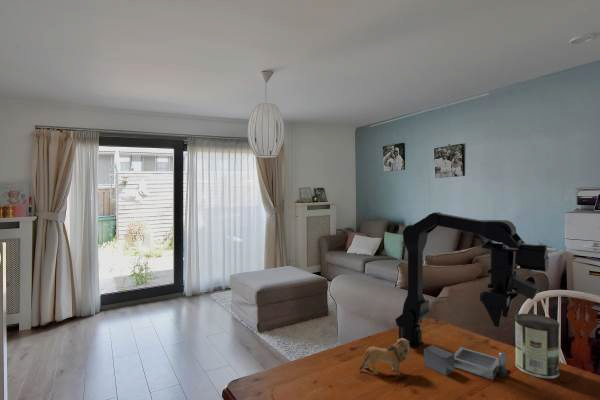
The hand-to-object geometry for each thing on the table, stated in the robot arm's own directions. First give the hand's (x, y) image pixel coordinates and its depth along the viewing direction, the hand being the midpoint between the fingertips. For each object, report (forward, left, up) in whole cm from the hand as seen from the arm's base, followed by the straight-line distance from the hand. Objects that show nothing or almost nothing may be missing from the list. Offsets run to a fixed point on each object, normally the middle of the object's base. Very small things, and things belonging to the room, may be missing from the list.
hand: (501, 321), depth 93 cm
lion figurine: (-24, -21, -15) cm, 35 cm away
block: (-14, -9, -14) cm, 22 cm away
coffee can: (+7, +9, -14) cm, 18 cm away
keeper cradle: (-5, -1, -14) cm, 15 cm away
